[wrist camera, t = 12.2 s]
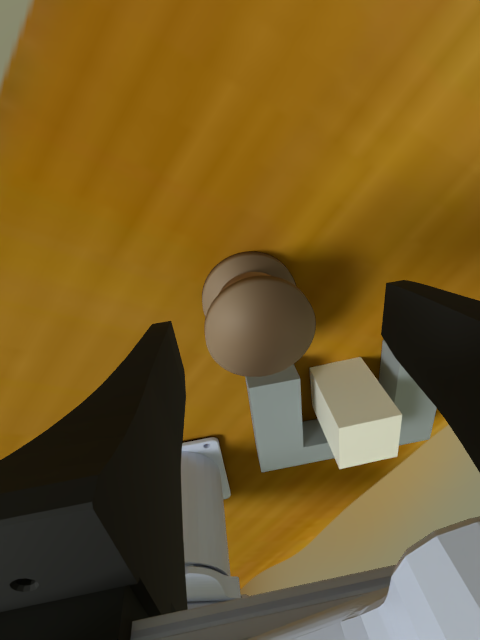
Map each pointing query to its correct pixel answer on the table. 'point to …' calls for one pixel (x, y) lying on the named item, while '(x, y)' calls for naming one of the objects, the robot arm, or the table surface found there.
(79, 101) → the table surface
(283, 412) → the notched board
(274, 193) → the table surface
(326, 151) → the table surface
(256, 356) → the brown knob
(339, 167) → the table surface
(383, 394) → the block
